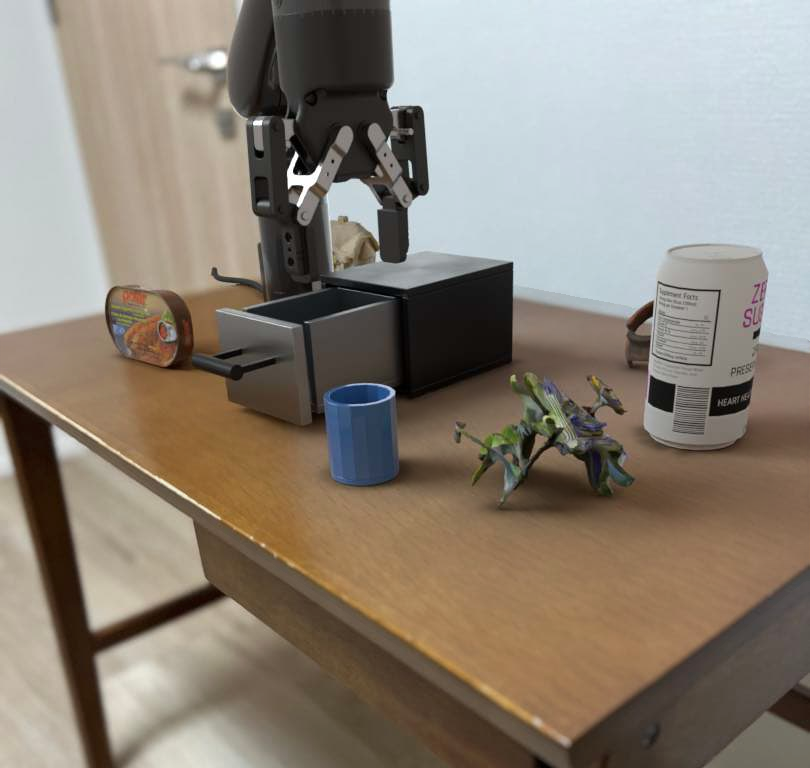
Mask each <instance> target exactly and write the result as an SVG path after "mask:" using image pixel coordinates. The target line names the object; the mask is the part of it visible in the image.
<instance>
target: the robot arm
mask: <svg viewBox="0 0 810 768" xmlns="http://www.w3.org/2000/svg"><path fill="white" fill-rule="evenodd" d="M391 2H392V1H391V0H243V1H242V4H241V7H240V9H239V10H240V12H239V14H238V17H237V20H236V24H235V27H234V31H233V35H232V37H231V42H230V46H229V51H228V55H227V62H226V63H227V64H226V91H227V96H228V98H229V99H228V100H229V102H230V106H231V107H232V109H233V111H234V112H235V113H236V114H237V115H238V116H239V117H241V118H242V119H244V120H246V122H245V132H246V134H245V135H246V144H247V145H246V147H247V159H248V172H249V173H248V174H249V186H250V199H251V200H250V201H251V210H252V214H254V216H256V217H257V222H258V224H257V225H258V232H259V241H258V243H257V245H256V247H257V256H258V264H259V272H260V280H261V283H259V282H258V281H255V280H252V279H249V278H245V277H244V278H243V277H233V276H224V275H219V272H218V268H217V267H215V266H213V267H212V268H211V272H210V273H211V274H210V276H211V277H213V279H214V280H216V281H218V282H222V283H226V284H227V283H228V284H237V285H246V286H250V287H251V288H254V289H256V290H257V291H259V292H260V293H262V296H263V303H266V302H270V301H274V300H278V299H282V298H287V297H291V296H295V295H299V294H303V293H308V292H312V291H316V290H320V289H321V280H320V275H322V274H326V273H330V272H334V264H333V252H332V240H331V227H330V221H331V217H330V206H329V205H330V204H329V203H330V202H329V195H328V193H329V191H330V190H331V186H332V184H340V183H346V182H348V181H350V180H359V181H360V182H361V183H362V184H364V185H366V186H367V187H368V189H369V190H370V191H371V193H372V194H373V196H374V197H375V199H376V201H377V202H378V204H379V205H380V206H381V207H382V208H378V209H376V215H377V231H378V232H377V234H378V245H379V251H378V252H379V258H380V261H383V262H388V263H396V264H397V263H401V262H405V261H406V258H407V255H408V252H409V248H410V234H409V233H410V232H409V208H410V207H411V205H412V204H413V201H414V200H415V199H417V198H418V197H420V196H421V197H425V196H426V195H428V193H429V190H430V178H429V177H430V175H429V165H428V151H427V136H426V123H425V113H424V112H425V111H424V109H423V107H421V106H420V105H411V104H409V105H407V104H406V105H396V106H395V105H393V106H391V107H390V106H389V101H388V91H389V90H390V89H391V88H392V87H393V86H394V84H395V63H394V60H395V59H394V44H393V43H394V41H393V40H394V39H393V21H392V4H391ZM389 140H390V145H388V141H389ZM389 146H390V147H389ZM409 162H410V165H411V174H410V165H409ZM410 175H412V177H410Z"/></svg>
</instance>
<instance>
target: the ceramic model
mask: <svg viewBox="0 0 810 768" xmlns="http://www.w3.org/2000/svg"><path fill="white" fill-rule="evenodd" d="M330 227H331V240H332V252H333V264H334V272H335V271H339V270H344V269H348V268H353V267H357V266H362V265H366V264H371V263H375V262H376V258H377V257H376V256H377V252H380V251H379V241H378V240H377V239H376V238H375V237H374V235H373V233H372V232H370V231H369V230H367V229H366V228H365V227H364V226H363V225H362V224H361V222H357V221H354V220H349V216H347V215H338V216H337V220H331V219H330Z"/></svg>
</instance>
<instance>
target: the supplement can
mask: <svg viewBox="0 0 810 768" xmlns="http://www.w3.org/2000/svg"><path fill="white" fill-rule="evenodd" d="M763 255H764V251H763V250H762V249H761V248H758V247H756V246H755V247H754V246H751V245H744V244H736V243H735V244H734V243H712V242H711V243H710V242H709V243H707V242H706V243H690V244H681V245H677V246H673V247H672V246H671V247H670V248H668V249H666V253H665V256H664V258H663V259H662V261H661V263H660V264H659V265H658V267H657V269H656V275H655V285H654V286H655V288H654V298H653V300H654V309H653V317H652V322H651V333H650V335H651V343H650V355H649V362H648V368H647V377H646V378H647V379H646V391H645V401H644V402H645V403H644V413H643V429H644V430H646V431H647V432H648V433H649V435H650V437H651V438H652V439H653V440H654V441H656V442H657V443H660V444H663V445H665V446H667V447H672V448H676V449H681V450H688V451H689V450H691V451H710V450H711V451H712V450H717V449H723V448H726V447H729V446H731V445H734V443H735V442H736V441H737V440H738V439H741V438H743V436H744V434H745V433H746V431H747V426H748V420H749V411H750V404H751V398H752V391H753V390H752V389H753V384H754V376H755V370H756V363H757V356H758V349H759V342H760V337H761V335H760V334H761V329H762V323H763V322H762V321H763V314H764V309H765V308H764V307H765V301H766V294H767V288H768V287H767V286H768V280H769V270H768V267H767V265H766V263H765V260H764V257H763Z"/></svg>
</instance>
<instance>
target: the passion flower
mask: <svg viewBox="0 0 810 768" xmlns="http://www.w3.org/2000/svg"><path fill="white" fill-rule="evenodd" d="M516 377H517V376H516V374H512V375H511V376H510V388H511V390H512V392H513V393H514V394H516V395H517V396H518V397H519V398H520V399H521V400H522V402H523V404H524V411H523V417H522V419H520V421H518V425H514V424H513V423H512V424H506V425H505V426H504V427H503V429H502V430H501V432H493V433H490V434H488V435H487V436H486V437H485V439H484V441H483V442H482V440H480V439H479V438H478V437H476V436H473V435H471V434H470V433H468V431H465V430H464V429H465V427H466V426H467V423H466V422H465V421H462V420H460V419H458V420H457V421H455V422H454V425H455V427H454V433H453V440H454V442H455V443H456V444H460V443H461V441H462V440H461V437H462V435H463V436H465V437H466V438H468V439H470V440H471V441H472V442H474V443H476V444H478V445H480V446H481V450H480V452H479V454H478V457H477V459H478V460H479V461H481V464H480V466H479V467H478V468H477V469H476V471H475V472H474V474H473V475H472V477H471V484H470V486H472V487H474V486H475V485H476V484H477V482H478V481H480V478H481V477H482V476H483V474H485V472H487V470H488V469H489V468H491V467H492V466H494V465H495V464H496V463H497V461H499V462H502V464H503V465H504V475H503V484H504V485H503V490H502V494H501V497H500V500H499V502H498V503H497V505H496V508H497V509H498V510H499V509H500V508H501V506H502V505H504V503H505V502H506V500H507V499H508V497H509V496H510V494H512V492H513V491H516V490H517V489H519V488H520V486H521V485H523V484H524V483H525V481H526V480H527V479H528V477H529V470H530V469H531V468H532V467H533V466H534V464H535V462H536V461H537V460H538V459H539V458H540V457H541V455H542V454H543V453H544V452H545V451H548V450H549V449H551V448H555V449H557V450H558V453H559V454H560V455H561V456H566V455H573V457H575V458H576V459H577V460H579V461H581V462H584V466H585V469H586V473H587V481H588V484H589V486H590V487H591V489H592V491H593V492H594V493H595V494H598V495H603V496H605V497H608V498H609V499H612V498H614V495H615V493H614V492H613V489H612V487H611V486H610V485H609V484H610V479H611V480H612V482H614V483H615V484H617V485H619V486H621V487H624V488H629V487H630V486H632V484H633V483H634V482H635V480H636V477H635V476H633V475H632V474H630V473H629V472H628V471H627V470H626V469H625V468H624V467H623V466H624V464H625V463H626V461H627V459H628V455H627V452H626V451H625V450H624V445H623V444H620V443H619V441H618V440H616V439H614V438H612V436H610V434H608V433H607V432H606V431H605V430H604V428H605V427H607V425H608V423H607V422H605V421H604V422H602V421H600V420H599V419H598V418H596V415H595V414H596V412H597V411H598V409H600V408H601V407H609V408H611V409H612V410H613V411H614V413H615V414H617V415H619V416H623V415H625V413H628V409H626V408H624V407H623V404H622V402H621V401H620V399H619V397H617V395H616V394H615V392H614V388H612V387H610V386H608V385H607V384H605V383H604V382H603V381H602V380H601V379H599V378H597V376H594V375H592V374H587V375H586V381H587V383H588V384H589V385H590V387H591V388H592V389H593V390H594V391H595V393H596V394H597V398H596V399H595V402H593V404H592V405H588V406H586V405H578V404H577V403H576V402H575V401H573V399H572V398H571V397H570V396H568V395H567V394H566V393H564V391H563V390H562V389H561V390H560V389H559V388H558V387H557V386H556V384H555V383H554V381H553V380H549V378H547V376H543V381H544V383H543V382H540V380H539V379H538V377H537V375H536V374H534V373H533V372H528V371H526V372H525V374H524V375H523V383H524V385H523V384H522V383H520V382H518V381H517V378H516ZM537 435H539V436H543V437H544V438H547V440H545V441H544V442H543V443H542V445H541V446H540V447H539V448H538V449H537V451H535V453H534V454H533V449H534V446H535V444H536V436H537ZM507 454H510V455H511V456H512V462H511V461H509V460H508V459H507V458H506V457H505V456H506V455H507ZM532 454H533V455H532Z"/></svg>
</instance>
